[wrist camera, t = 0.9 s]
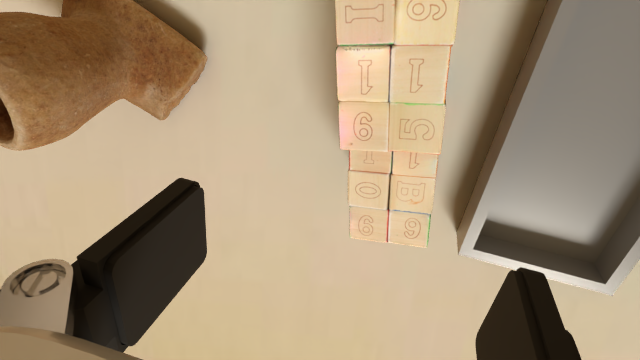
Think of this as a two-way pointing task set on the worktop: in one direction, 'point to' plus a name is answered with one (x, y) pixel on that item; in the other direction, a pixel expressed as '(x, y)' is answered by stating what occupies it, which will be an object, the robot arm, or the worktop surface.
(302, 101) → the worktop surface
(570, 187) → the tray
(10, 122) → the brown suede boot
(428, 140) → the stack of blocks
